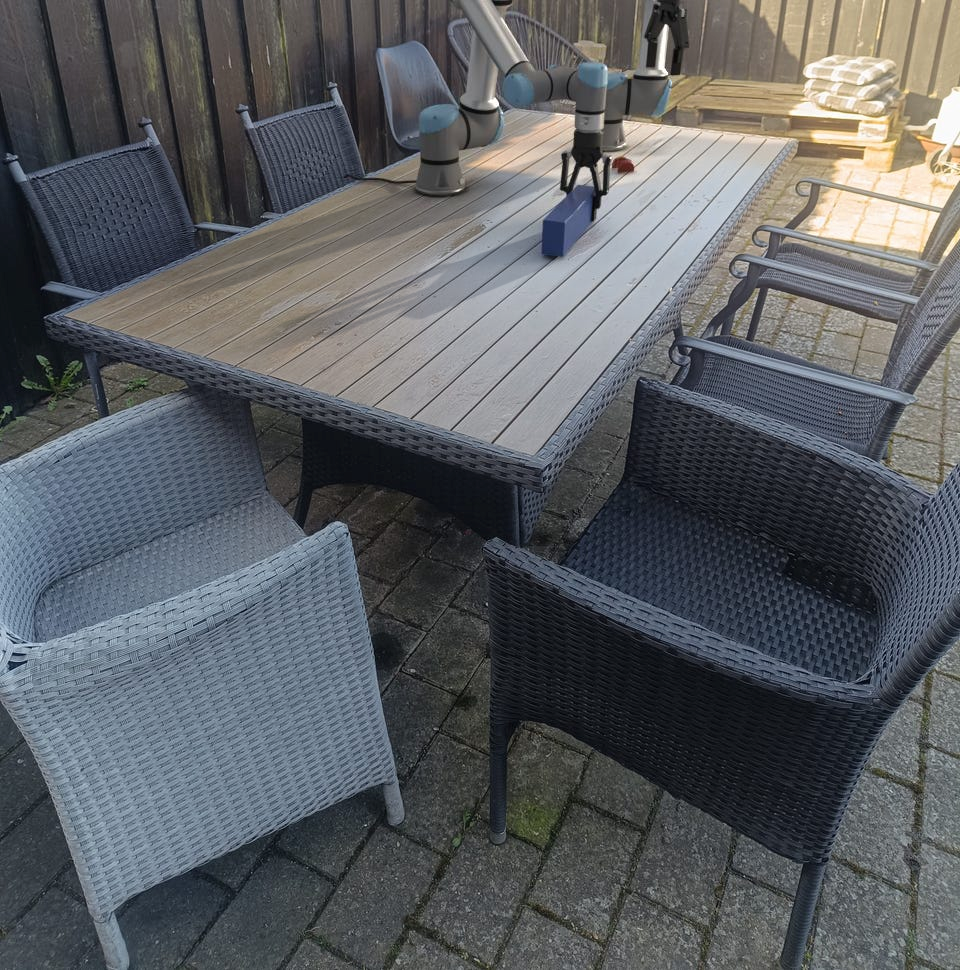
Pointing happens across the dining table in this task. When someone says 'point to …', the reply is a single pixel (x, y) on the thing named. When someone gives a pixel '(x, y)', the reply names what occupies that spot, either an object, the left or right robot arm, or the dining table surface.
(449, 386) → the dining table surface
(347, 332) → the dining table surface
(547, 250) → the bar
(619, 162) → the red lumpy piece
